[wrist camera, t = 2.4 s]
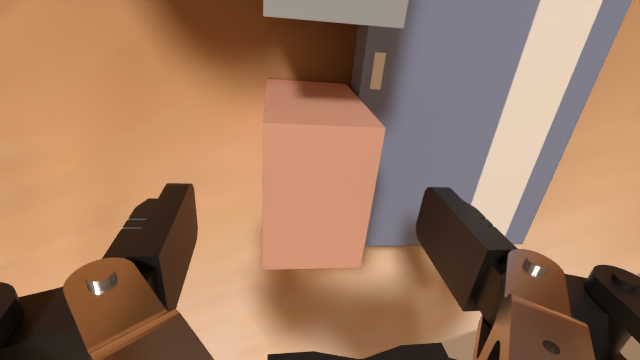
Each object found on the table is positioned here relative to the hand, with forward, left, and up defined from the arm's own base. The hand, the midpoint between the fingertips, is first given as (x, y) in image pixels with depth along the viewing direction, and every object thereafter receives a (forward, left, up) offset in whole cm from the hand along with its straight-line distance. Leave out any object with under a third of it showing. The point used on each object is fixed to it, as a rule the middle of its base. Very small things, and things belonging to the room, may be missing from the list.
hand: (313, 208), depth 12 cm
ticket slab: (-9, -4, -8) cm, 12 cm away
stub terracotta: (0, 0, -8) cm, 8 cm away
